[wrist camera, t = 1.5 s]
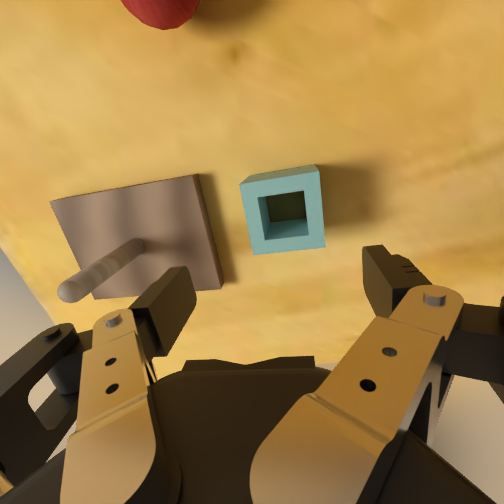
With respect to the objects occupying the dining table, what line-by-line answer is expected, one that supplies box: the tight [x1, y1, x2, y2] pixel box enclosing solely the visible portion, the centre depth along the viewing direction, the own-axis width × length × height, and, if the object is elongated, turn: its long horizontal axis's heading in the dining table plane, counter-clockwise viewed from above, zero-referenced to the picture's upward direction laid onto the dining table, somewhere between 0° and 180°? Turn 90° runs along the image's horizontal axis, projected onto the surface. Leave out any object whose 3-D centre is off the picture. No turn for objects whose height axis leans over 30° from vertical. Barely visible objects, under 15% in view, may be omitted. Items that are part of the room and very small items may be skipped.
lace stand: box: [49, 174, 224, 303], centre depth 24 cm, size 16×12×11 cm
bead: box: [239, 165, 326, 255], centre depth 23 cm, size 6×6×5 cm
